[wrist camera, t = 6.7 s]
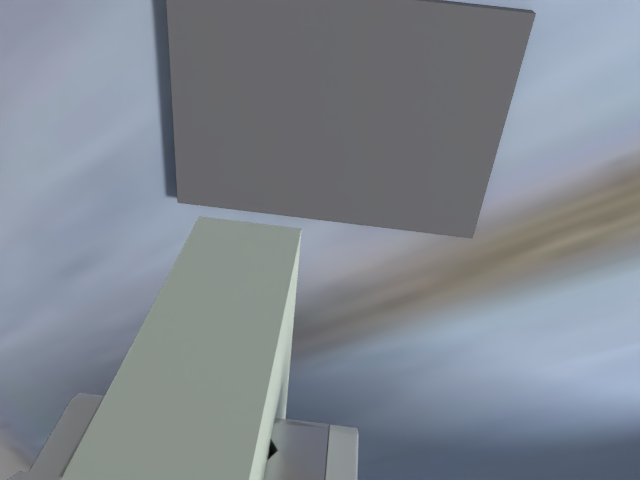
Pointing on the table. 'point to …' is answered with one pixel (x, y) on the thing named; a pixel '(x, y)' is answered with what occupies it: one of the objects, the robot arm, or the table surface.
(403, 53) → the mat
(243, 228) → the block
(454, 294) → the table surface
